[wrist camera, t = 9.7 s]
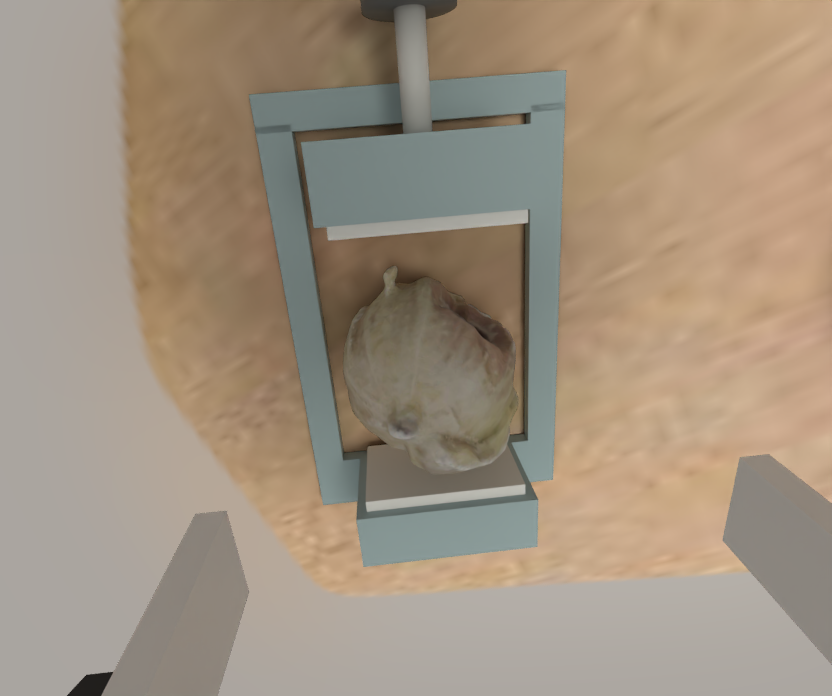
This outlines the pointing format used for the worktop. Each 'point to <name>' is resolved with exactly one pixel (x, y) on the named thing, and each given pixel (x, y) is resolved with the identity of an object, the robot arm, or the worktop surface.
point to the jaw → (422, 157)
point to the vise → (337, 471)
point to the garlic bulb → (431, 376)
